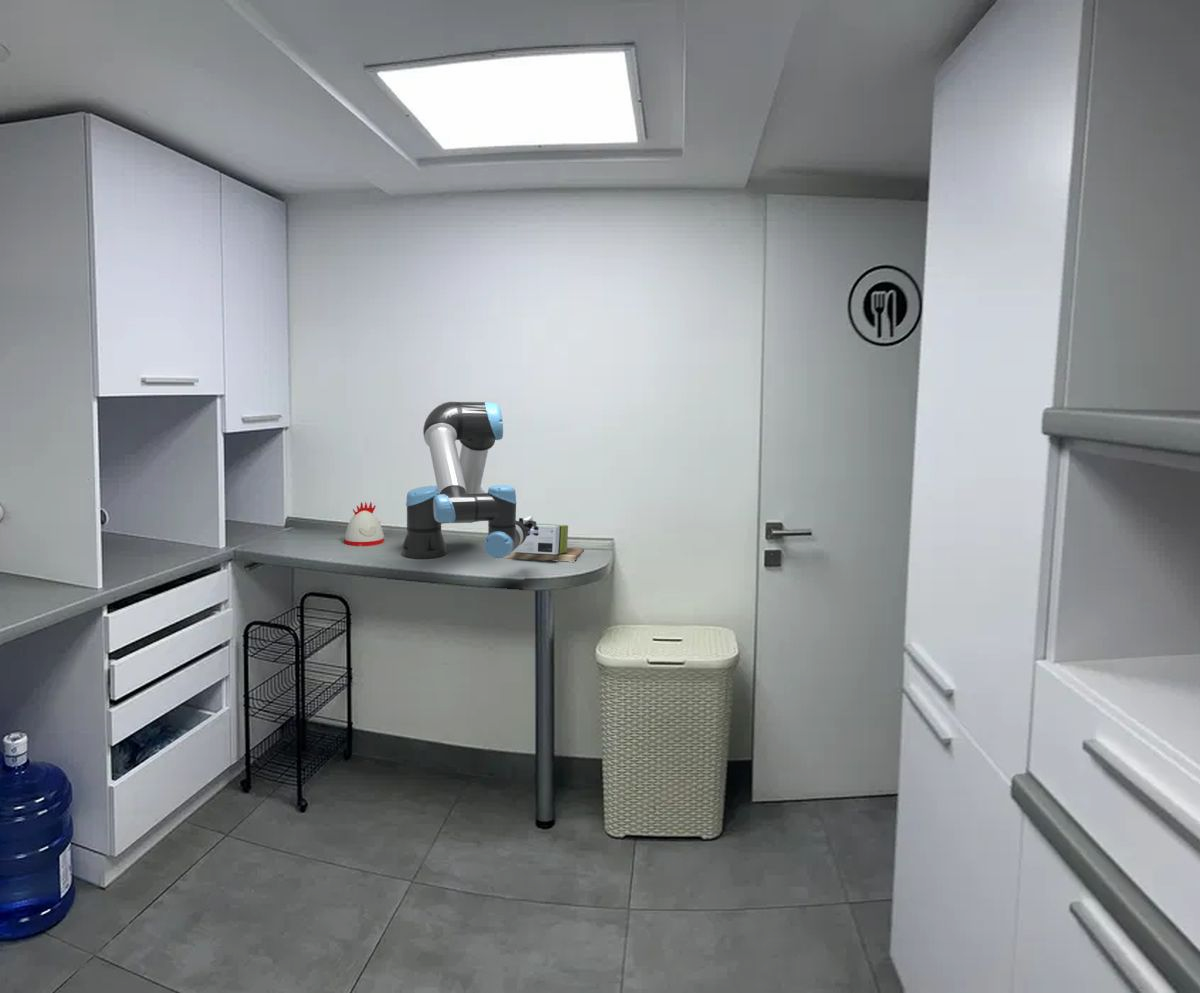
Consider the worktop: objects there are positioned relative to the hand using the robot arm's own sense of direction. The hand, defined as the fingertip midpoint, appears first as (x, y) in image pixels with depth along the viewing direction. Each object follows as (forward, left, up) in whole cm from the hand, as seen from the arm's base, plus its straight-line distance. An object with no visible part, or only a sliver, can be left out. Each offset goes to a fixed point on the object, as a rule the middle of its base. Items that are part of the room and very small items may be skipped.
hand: (530, 520), depth 241 cm
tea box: (-1, +12, -9) cm, 15 cm away
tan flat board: (-1, +25, -17) cm, 30 cm away
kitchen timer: (-69, +26, -17) cm, 76 cm away
